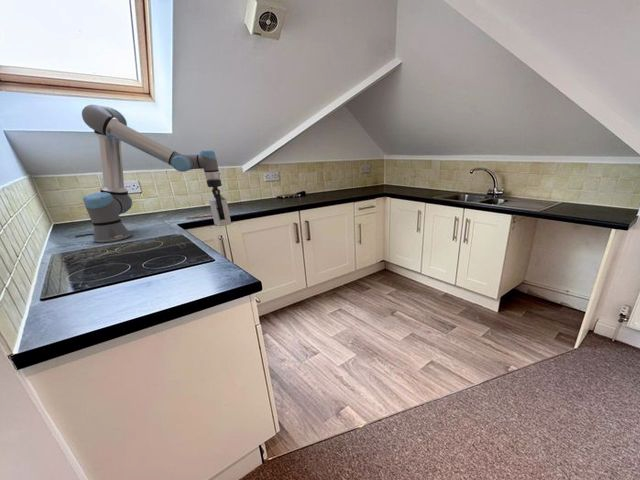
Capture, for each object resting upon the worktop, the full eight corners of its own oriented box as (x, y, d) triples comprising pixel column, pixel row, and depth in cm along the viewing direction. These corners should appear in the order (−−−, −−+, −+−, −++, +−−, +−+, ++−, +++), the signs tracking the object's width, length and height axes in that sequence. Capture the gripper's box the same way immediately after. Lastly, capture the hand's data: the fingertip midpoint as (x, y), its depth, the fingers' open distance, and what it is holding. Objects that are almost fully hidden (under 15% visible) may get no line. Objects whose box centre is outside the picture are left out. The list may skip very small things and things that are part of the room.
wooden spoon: (187, 219, 198) (186, 217, 197) (187, 218, 202) (186, 216, 201) (212, 216, 205) (212, 214, 204) (211, 215, 208) (211, 213, 208)
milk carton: (220, 226, 178) (213, 194, 170) (214, 224, 182) (207, 193, 174) (231, 224, 183) (225, 192, 175) (225, 222, 187) (219, 191, 179)
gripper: (222, 180, 165) (230, 220, 174) (218, 177, 182) (226, 214, 191) (207, 181, 161) (216, 222, 171) (205, 178, 179) (213, 215, 188)
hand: (221, 218), depth 181 cm, fingers closed on milk carton, 9 cm apart
